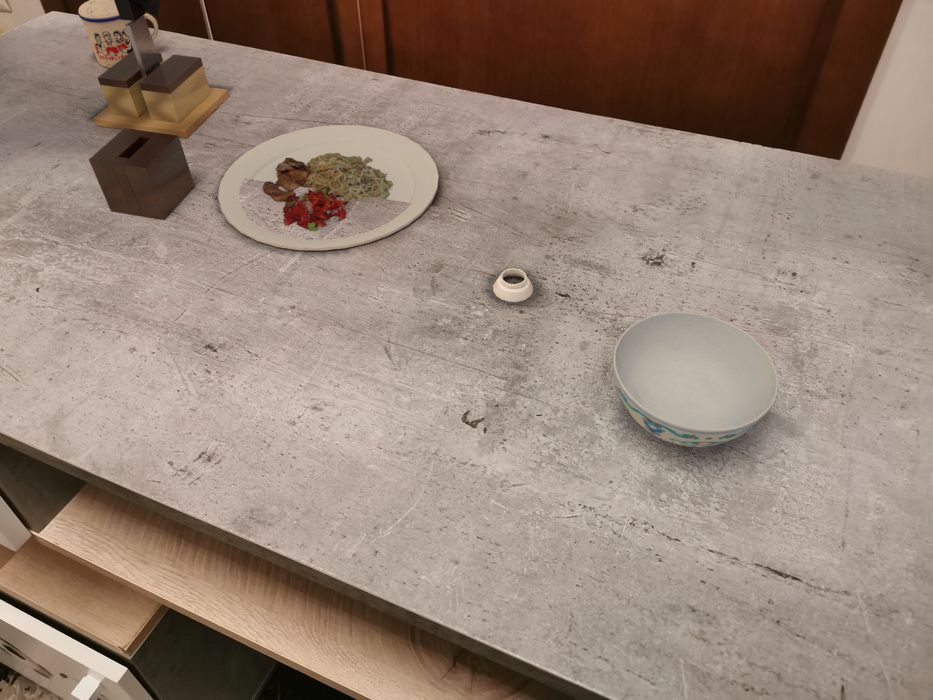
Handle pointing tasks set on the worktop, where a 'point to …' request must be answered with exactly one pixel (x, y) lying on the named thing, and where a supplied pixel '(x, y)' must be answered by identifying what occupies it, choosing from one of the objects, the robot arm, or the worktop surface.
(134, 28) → the cake knife
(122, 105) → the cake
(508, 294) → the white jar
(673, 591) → the worktop surface
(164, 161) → the knife block
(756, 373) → the chinaware
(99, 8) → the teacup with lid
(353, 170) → the plated food
